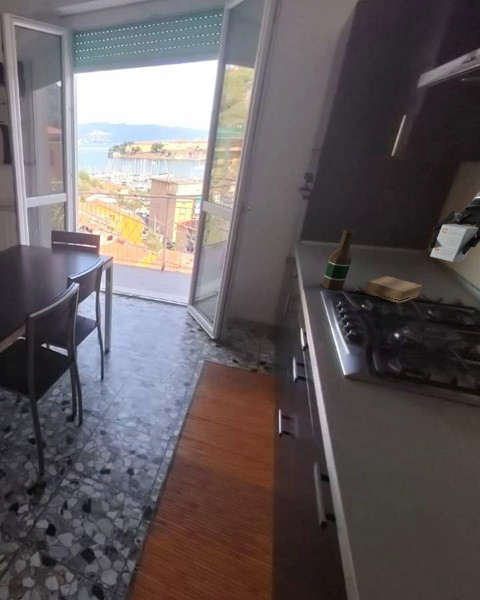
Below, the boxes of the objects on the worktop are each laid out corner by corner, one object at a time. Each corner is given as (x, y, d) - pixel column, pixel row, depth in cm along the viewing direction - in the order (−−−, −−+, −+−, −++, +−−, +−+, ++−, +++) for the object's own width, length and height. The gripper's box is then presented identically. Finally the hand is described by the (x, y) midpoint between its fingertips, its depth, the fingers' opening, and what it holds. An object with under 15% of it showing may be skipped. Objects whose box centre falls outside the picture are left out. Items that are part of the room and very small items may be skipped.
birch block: (417, 297, 141) (422, 285, 139) (398, 303, 135) (403, 291, 133) (382, 287, 150) (386, 275, 148) (364, 292, 145) (368, 281, 143)
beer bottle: (346, 291, 146) (365, 233, 137) (325, 289, 148) (343, 232, 138) (337, 284, 153) (354, 229, 144) (317, 283, 155) (333, 228, 145)
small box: (464, 261, 138) (479, 227, 133) (452, 262, 137) (467, 228, 131) (440, 255, 145) (454, 223, 140) (429, 256, 144) (442, 224, 138)
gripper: (524, 215, 131) (485, 262, 131) (448, 206, 149) (414, 248, 149) (525, 201, 127) (485, 250, 127) (447, 194, 145) (412, 237, 145)
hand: (447, 249), depth 138 cm, fingers closed on small box, 9 cm apart
